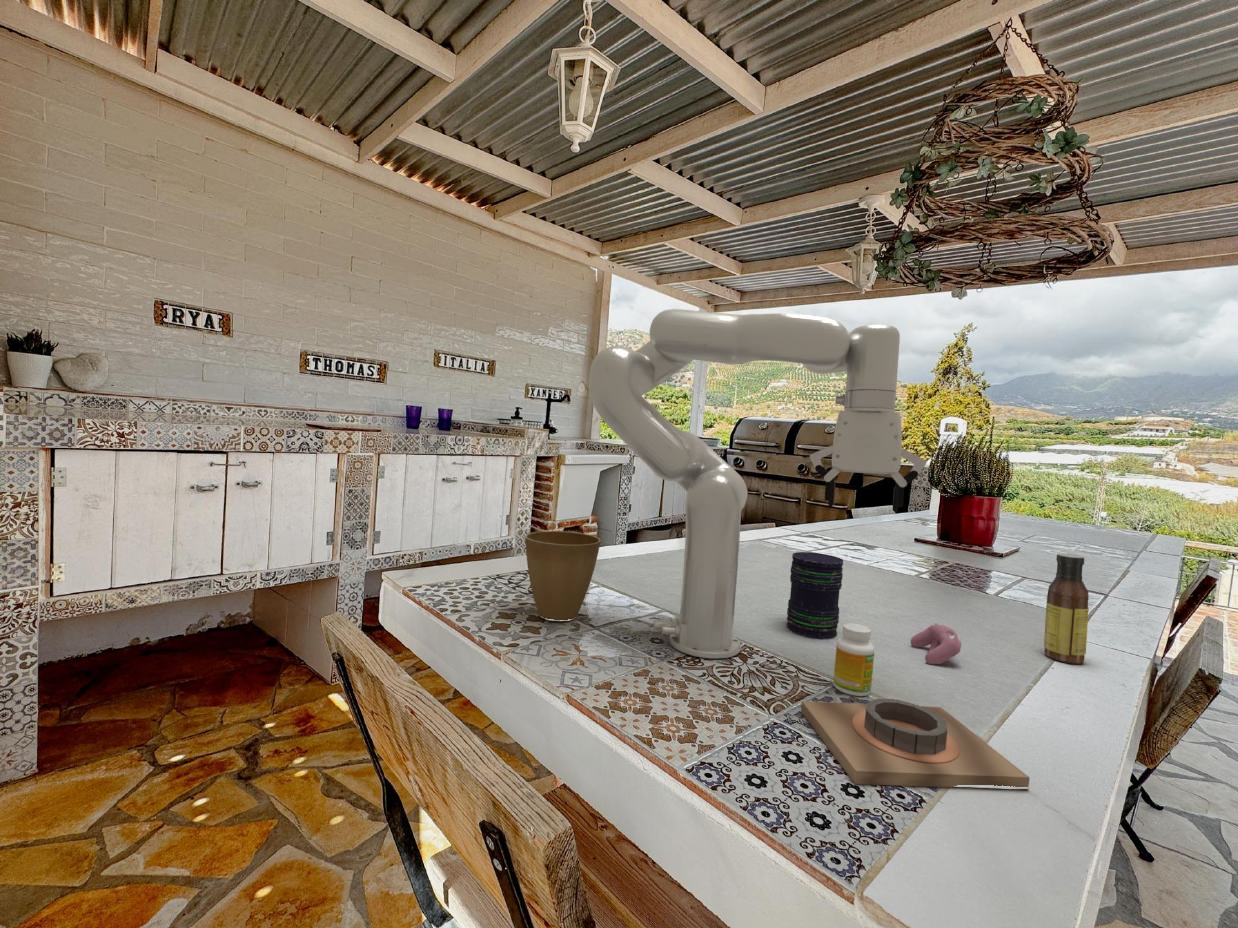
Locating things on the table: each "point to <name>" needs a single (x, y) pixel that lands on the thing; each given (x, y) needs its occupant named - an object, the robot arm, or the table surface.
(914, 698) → the table surface
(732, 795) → the table surface
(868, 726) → the socket board
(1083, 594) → the sauce bottle
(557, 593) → the plant pot
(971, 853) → the table surface
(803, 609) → the storage jar
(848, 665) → the supplement bottle
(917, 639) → the video game controller
